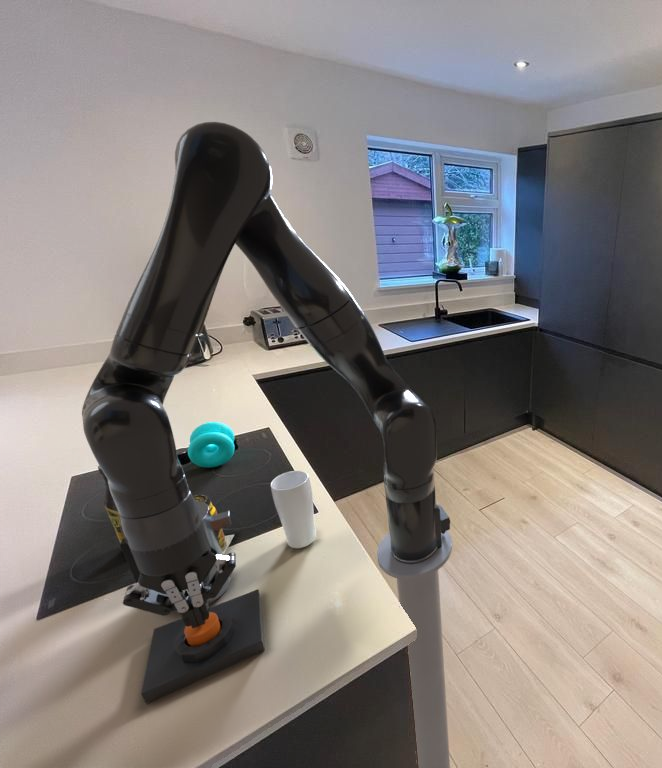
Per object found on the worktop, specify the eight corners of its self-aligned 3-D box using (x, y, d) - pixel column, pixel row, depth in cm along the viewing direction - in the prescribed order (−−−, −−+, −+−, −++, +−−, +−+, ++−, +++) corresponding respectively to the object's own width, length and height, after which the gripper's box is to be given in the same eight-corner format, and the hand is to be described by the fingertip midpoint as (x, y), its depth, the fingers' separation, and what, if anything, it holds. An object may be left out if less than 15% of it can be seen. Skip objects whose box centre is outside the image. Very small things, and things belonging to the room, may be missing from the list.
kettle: (246, 558, 78) (225, 485, 72) (247, 591, 71) (224, 513, 65) (153, 590, 71) (121, 511, 65) (144, 630, 64) (107, 546, 58)
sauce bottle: (125, 543, 81) (90, 459, 74) (165, 529, 85) (135, 448, 78) (123, 562, 76) (86, 475, 69) (165, 547, 80) (134, 463, 73)
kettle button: (221, 617, 62) (217, 607, 62) (220, 637, 59) (216, 627, 59) (189, 629, 60) (185, 620, 60) (186, 651, 57) (182, 641, 57)
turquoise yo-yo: (193, 474, 104) (182, 440, 100) (195, 456, 112) (185, 425, 108) (238, 463, 109) (229, 431, 106) (237, 447, 117) (229, 416, 113)
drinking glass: (327, 535, 84) (316, 475, 79) (299, 557, 79) (286, 494, 73) (305, 525, 87) (293, 466, 82) (276, 545, 81) (261, 484, 76)
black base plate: (261, 598, 70) (256, 581, 68) (264, 650, 61) (259, 632, 60) (158, 638, 63) (150, 620, 61) (146, 704, 54) (136, 685, 53)
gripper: (226, 497, 59) (251, 584, 65) (105, 529, 52) (145, 623, 59) (225, 527, 53) (252, 620, 60) (89, 568, 46) (135, 668, 53)
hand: (199, 621), depth 59 cm, fingers closed
